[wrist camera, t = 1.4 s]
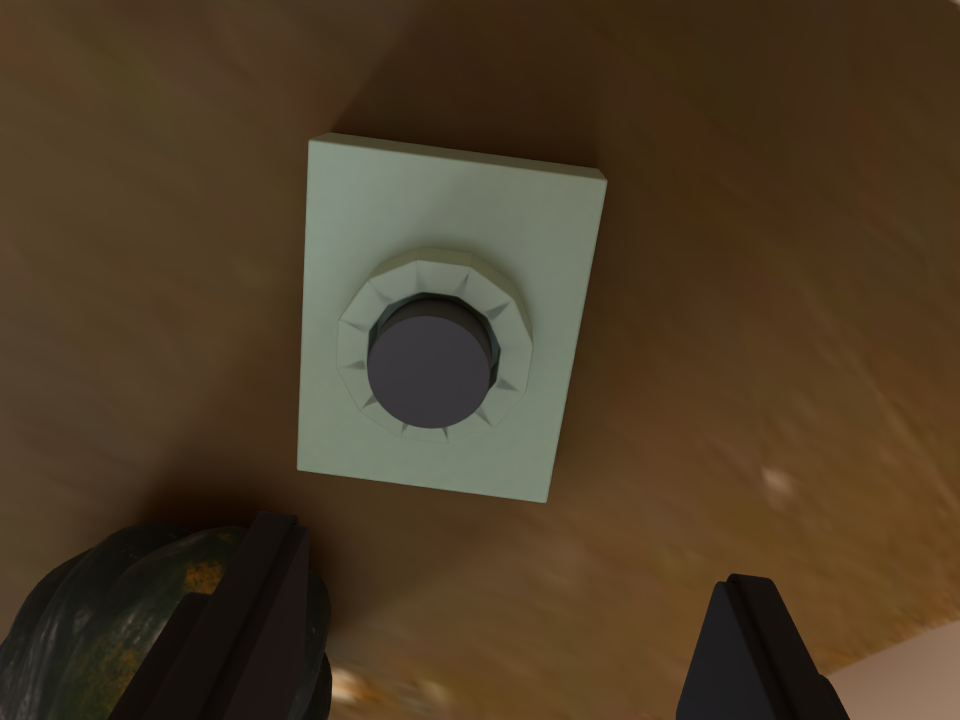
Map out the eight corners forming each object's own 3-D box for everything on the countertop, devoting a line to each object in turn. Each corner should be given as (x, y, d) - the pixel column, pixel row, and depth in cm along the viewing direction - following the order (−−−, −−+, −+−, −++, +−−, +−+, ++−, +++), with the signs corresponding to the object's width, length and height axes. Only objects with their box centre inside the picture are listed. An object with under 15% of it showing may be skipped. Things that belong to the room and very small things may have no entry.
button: (381, 289, 27) (371, 307, 25) (499, 305, 27) (498, 324, 25) (372, 397, 29) (362, 420, 27) (484, 411, 29) (482, 436, 27)
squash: (441, 713, 34) (138, 856, 21) (253, 851, 39) (-82, 1032, 26) (317, 461, 40) (25, 456, 27) (168, 608, 45) (-135, 661, 32)
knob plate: (327, 131, 29) (292, 144, 25) (599, 168, 30) (615, 188, 25) (313, 438, 35) (282, 496, 30) (543, 468, 35) (548, 531, 30)
